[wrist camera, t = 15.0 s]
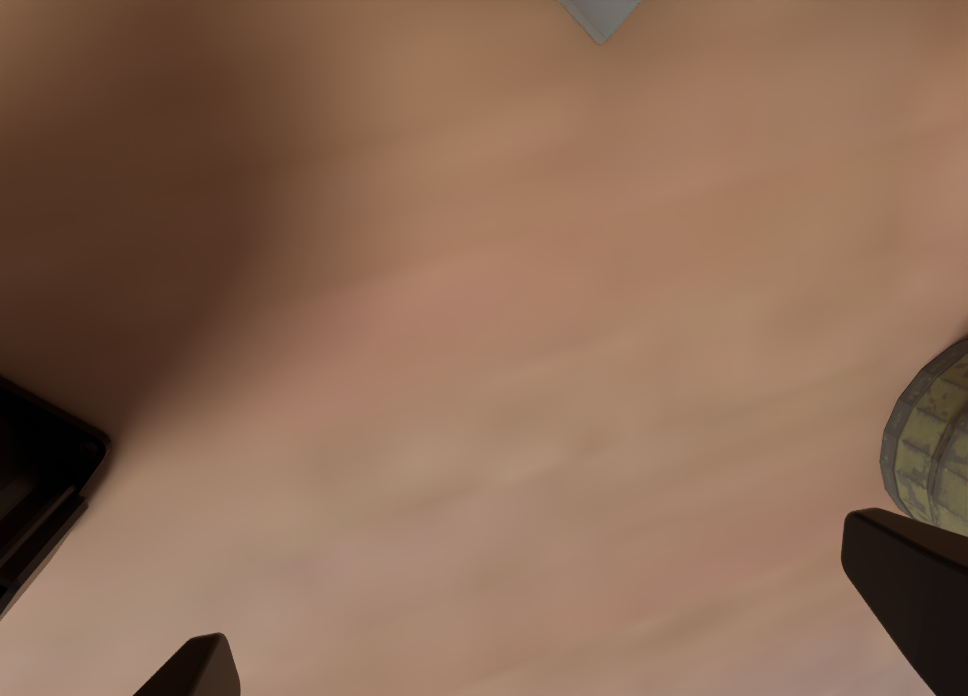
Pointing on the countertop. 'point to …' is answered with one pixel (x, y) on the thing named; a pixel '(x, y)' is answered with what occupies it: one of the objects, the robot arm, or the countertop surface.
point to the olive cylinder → (931, 444)
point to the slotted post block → (600, 15)
